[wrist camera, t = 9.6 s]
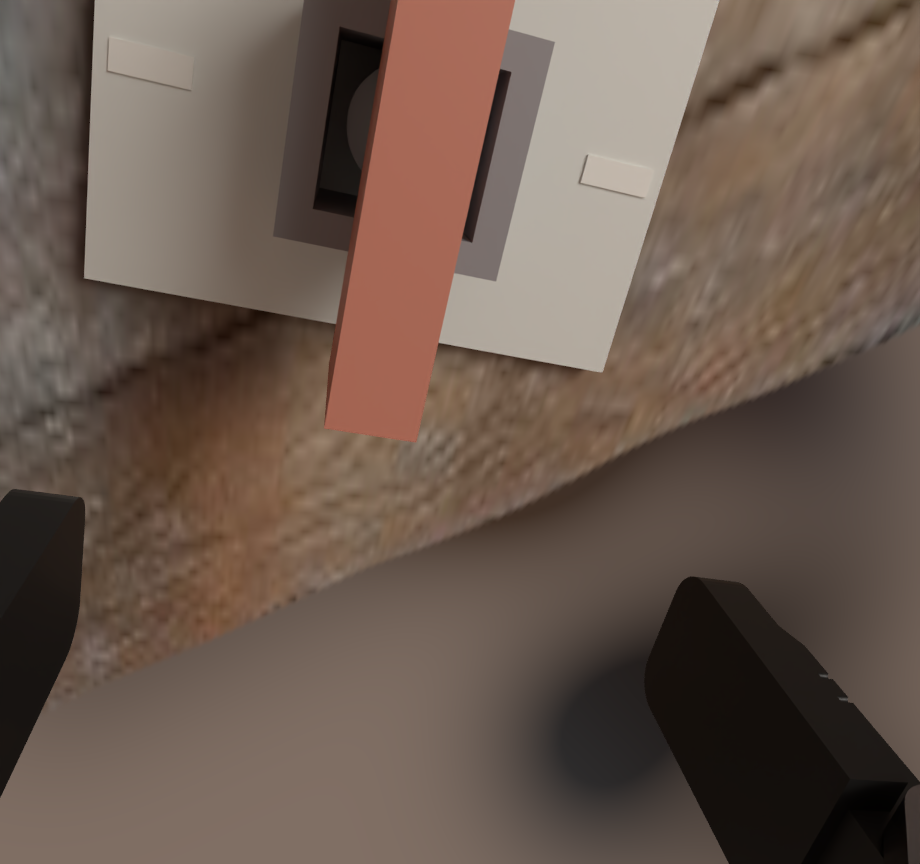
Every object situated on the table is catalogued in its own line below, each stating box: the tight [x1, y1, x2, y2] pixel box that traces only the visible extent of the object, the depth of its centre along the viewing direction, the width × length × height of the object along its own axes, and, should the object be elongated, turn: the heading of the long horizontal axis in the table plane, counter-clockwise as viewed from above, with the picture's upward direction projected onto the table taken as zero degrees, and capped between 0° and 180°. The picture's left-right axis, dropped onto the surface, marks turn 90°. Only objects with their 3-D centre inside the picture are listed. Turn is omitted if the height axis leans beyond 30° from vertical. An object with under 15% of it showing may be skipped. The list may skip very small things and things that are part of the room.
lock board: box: [84, 0, 719, 373], centre depth 25 cm, size 20×15×6 cm
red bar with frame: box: [273, 0, 555, 442], centre depth 22 cm, size 14×7×10 cm, turn 167°
